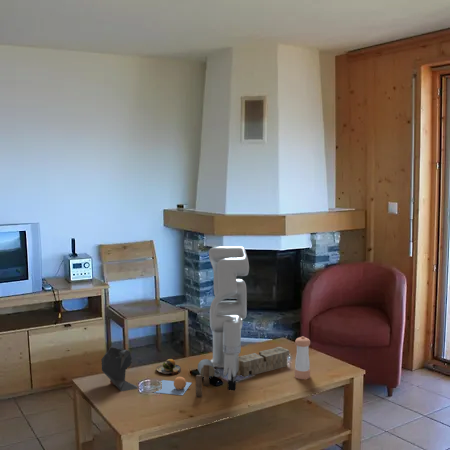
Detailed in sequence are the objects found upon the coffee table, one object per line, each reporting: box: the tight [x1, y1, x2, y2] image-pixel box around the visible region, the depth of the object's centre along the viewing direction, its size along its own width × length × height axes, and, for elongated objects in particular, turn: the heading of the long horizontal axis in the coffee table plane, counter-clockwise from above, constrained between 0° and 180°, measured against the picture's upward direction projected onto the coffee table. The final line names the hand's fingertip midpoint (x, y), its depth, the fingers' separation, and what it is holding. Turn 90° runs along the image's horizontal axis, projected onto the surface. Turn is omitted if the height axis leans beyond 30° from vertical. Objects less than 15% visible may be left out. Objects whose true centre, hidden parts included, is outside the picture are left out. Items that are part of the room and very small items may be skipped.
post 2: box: [203, 365, 210, 387], centre depth 251 cm, size 3×3×9 cm
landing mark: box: [153, 379, 192, 396], centre depth 248 cm, size 14×14×1 cm
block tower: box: [236, 346, 290, 378], centre depth 270 cm, size 8×8×29 cm
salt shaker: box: [293, 335, 311, 380], centre depth 260 cm, size 7×7×19 cm
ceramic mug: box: [197, 358, 221, 378], centre depth 261 cm, size 10×8×7 cm
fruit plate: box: [155, 358, 182, 376], centre depth 268 cm, size 12×12×8 cm
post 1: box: [195, 374, 203, 398], centre depth 238 cm, size 3×3×9 cm
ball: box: [173, 376, 187, 390], centre depth 246 cm, size 6×6×6 cm
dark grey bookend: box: [101, 346, 139, 392], centre depth 250 cm, size 14×15×18 cm
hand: (231, 389), depth 242 cm, fingers closed
